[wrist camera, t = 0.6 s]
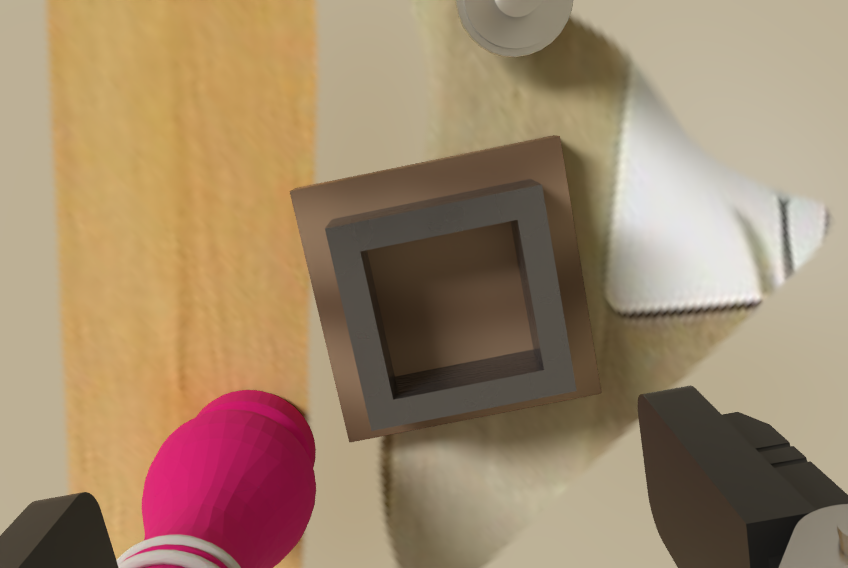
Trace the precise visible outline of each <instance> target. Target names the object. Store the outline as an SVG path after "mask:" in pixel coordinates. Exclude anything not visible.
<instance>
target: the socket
mask: <svg viewBox="0 0 848 568" xmlns="http://www.w3.org/2000/svg"><path fill="white" fill-rule="evenodd" d="M509 221H511V227H512V233H513V238H514V244H515V249H516V255H517V261H518V266H519V272H520V277H521V283H522V289H523V294H524V300H525V305H526V311H527V316H528V322H529V328H530V333H531V339H532V344H533V349H532V350H527V351H522V352H517V353H512V354H507V355H502V356H497V357H492V358H487V359H481V360H476V361H471V362H466V363H461V364H456V365H451V366H446V367H441V368H436V369H431V370H426V371H421V372H415V373H410V374H405V375H400V376H395V375H394V371H393V366H392V362H391V357H390V353H389V348H388V344H387V339H386V335H385V330H384V325H383V321H382V316H381V312H380V307H379V303H378V298H377V294H376V289H375V285H374V280H373V276H372V271H371V266H370V262H369V257H368V253H367V250H370V249H375V248H380V247H385V246H390V245H395V244H400V243H405V242H410V241H415V240H420V239H425V238H430V237H435V236H439V235H444V234H449V233H454V232H459V231H464V230H469V229H474V228H479V227H484V226H489V225H494V224H499V223H504V222H509ZM325 232H326V236H327V240H328V245H329V249H330V253H331V258H332V262H333V266H334V271H335V275H336V279H337V284H338V288H339V292H340V297H341V301H342V305H343V310H344V314H345V318H346V323H347V327H348V331H349V336H350V340H351V344H352V349H353V353H354V357H355V362H356V366H357V370H358V375H359V379H360V383H361V388H362V392H363V396H364V401H365V405H366V410H367V414H368V418H369V423H370V427H371V431H375V430H380V429H385V428H390V427H395V426H400V425H405V424H411V423H416V422H421V421H426V420H431V419H436V418H441V417H446V416H452V415H457V414H462V413H467V412H472V411H477V410H482V409H487V408H493V407H498V406H503V405H508V404H513V403H518V402H523V401H528V400H533V399H539V398H544V397H549V396H554V395H559V394H564V393H569V392H574V391H577V390H576V384H575V378H574V372H573V366H572V360H571V354H570V348H569V342H568V336H567V330H566V325H565V319H564V313H563V307H562V301H561V295H560V289H559V283H558V277H557V271H556V265H555V259H554V253H553V247H552V241H551V236H550V230H549V224H548V218H547V212H546V206H545V200H544V194H543V188H542V184H540V183H538V182H536V181H534V180H532V179H527V180H522V181H517V182H512V183H507V184H502V185H497V186H492V187H487V188H482V189H478V190H473V191H468V192H463V193H458V194H453V195H448V196H443V197H438V198H433V199H428V200H423V201H418V202H414V203H409V204H404V205H399V206H394V207H389V208H384V209H379V210H374V211H369V212H364V213H359V214H355V215H350V216H345V217H340V218H335V219H332V220H331V221H330V223H329V224H328V225H327V226H326V228H325Z"/></svg>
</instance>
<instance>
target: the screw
mask: <svg viewBox="0 0 848 568" xmlns="http://www.w3.org/2000/svg"><path fill="white" fill-rule="evenodd" d="M456 6H457V11H458V16H459V18H460V21H461V23H462V26H463V28H464V29H465V31H466V32H467V33H468V35H469V36H470V38H471V39H472V40H473V41H474V42H476V43H477V44H478V45H479V46H480V47H481V48H483V49H485V50H487V51H489V52H490V53H493V54H496V55H500V56H503V57H520V56H526V55H530V54H532V53H535V52H537V51H540V50H541V49H543V48H544V47H546V46H547V45H549V44H550V43H552V41H553V40H554V39H555V38H556V37H557V36H558V35H559V34H560V33H561V31H562V30H563V28H564V27H565V25H566V23H567V22H568V19H569V16H570V13H571V10H572V6H573V0H456Z"/></svg>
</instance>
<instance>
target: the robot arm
mask: <svg viewBox="0 0 848 568" xmlns="http://www.w3.org/2000/svg"><path fill="white" fill-rule="evenodd" d="M638 417H639V425H640V433H641V440H642V449H643V456H644V465H645V473H646V480H647V489H648V496H649V502H650V506H651V511H652V514H653V518H654V521H655V524H656V527H657V530H658V533H659V535H660V537H661V539H662V541H663V543H664V544H665V546H666V548H667V550H668V551H669V553H670V555H671V556H672V558H673V560H674V562H675V563H676V565H677V567H678V568H848V495H847V494H846V493H845V492H844V491H843V490H841V489H840V488H839V487H838V486H837V485H836V484H835V483H834V482H833V481H832V480H831V479H829V478H828V477H827V476H826V475H825V474H824V473H823V472H822V471H821V470H819V469H818V468H817V467H816V466H815V465H814V464H813V463H812V462H807V460H806V457H805V456H804V455H803V454H802V453H800V452H799V451H798V450H797V449H796V448H795V447H794V446H790V443H789V442H788V441H787V440H786V439H785V438H784V437H783V436H782V435H781V434H779V433H778V432H777V431H776V430H775V429H774V428H773V427H772V426H771V425H769V424H767V423H764V422H762V421H759V420H757V419H754V418H752V417H749V416H747V415H744V414H742V413H739V412H735V413H729V414H723V415H721V414H720V413H719V412H718V411H717V410H716V409H715V408H714V407H713V406H712V405H711V404H710V403H709V402H708V401H707V400H706V399H705V398H704V397H703V396H702V395H701V394H700V393H699V392H698V391H697V390H696V389H695V388H694V387H693V386H686V387H681V388H675V389H669V390H664V391H658V392H652V393H647V394H641V395H640V396H639V398H638ZM0 568H119V567H118V564H117V561H116V558H115V555H114V551H113V548H112V545H111V542H110V538H109V535H108V532H107V529H106V526H105V522H104V519H103V516H102V513H101V510H100V507H99V504H98V502H97V501H96V499H95V498H94V497H93V496H92V495H91V494H90V493H87V492H83V493H78V494H72V495H66V496H61V497H55V498H49V499H44V500H38V501H34V502H32V503H31V504H30V505H28V507H27V508H26V509H25V510H24V511H23V512H22V513H21V514H20V515H19V516H18V517H17V518H16V519H15V521H14V522H13V523H12V524H11V525H10V526H9V527H8V528H7V529H6V530H5V531H4V532H3V533H2V535H1V536H0Z"/></svg>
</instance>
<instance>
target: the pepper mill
mask: <svg viewBox="0 0 848 568" xmlns="http://www.w3.org/2000/svg"><path fill="white" fill-rule="evenodd" d="M314 462H315V442H314V437H313V434H312V431H311V429H310V427H309V425H308V423H307V422H306V420H305V418H304V417H303V416H302V415H301V413H300V412H299V411H298V410H297V409H296V408H295V407H294V406H292V405H291V404H290V403H288V402H287V401H285V400H284V399H282V398H280V397H278V396H275V395H273V394H270V393H266V392H262V391H256V390H242V391H236V392H231V393H228V394H225V395H223V396H221V397H219V398H217V399H215V400H214V401H212V402H211V403H209V404H208V405H207V406H206V407H204V408H203V409H202V410H201V412H200V413H199V414H198V415H197V417H196V418H194V419H192V420H190V421H188V422H186V423H184V424H183V425H182V426H180V427H179V428H178V429H177V430H175V431H174V432H173V433H172V434H171V435H170V436H169V437H168V438H167V439H166V441H165V442H164V443H163V444H162V446H161V448H160V449H159V451H158V453H157V455H156V457H155V459H154V460H153V462H152V464H151V466H150V468H149V471H148V474H147V477H146V480H145V485H144V491H143V497H142V515H143V522H144V529H145V539H144V541H142V542H140V543H138V544H136V545H134V546H132V547H131V548H130V549H128V550H127V551H126V552H124V553H123V554H122V555H121V556H120V557H119V558H118V559H117V560H116V561H117V564H118V567H119V568H273V567H274V566H275V565H277V564H278V563H279V562H280V561H281V560H282V559H283V558H284V557H285V556H286V555H287V554H288V553H289V552H290V551H291V550H292V549H293V548H294V547H295V545H296V544H297V543H298V541H299V540H300V538H301V537H302V535H303V533H304V531H305V529H306V527H307V524H308V522H309V520H310V517H311V514H312V511H313V508H314V504H315V494H316V482H315V475H314V470H313V467H314Z"/></svg>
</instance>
